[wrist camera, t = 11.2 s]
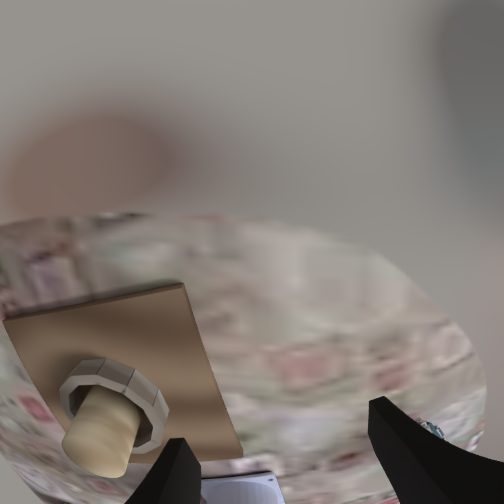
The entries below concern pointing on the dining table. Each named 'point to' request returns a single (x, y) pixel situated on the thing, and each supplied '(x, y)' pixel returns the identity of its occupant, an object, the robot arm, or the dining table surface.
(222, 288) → the dining table surface
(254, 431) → the dining table surface
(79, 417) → the maple peg
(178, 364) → the socket board
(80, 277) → the dining table surface
